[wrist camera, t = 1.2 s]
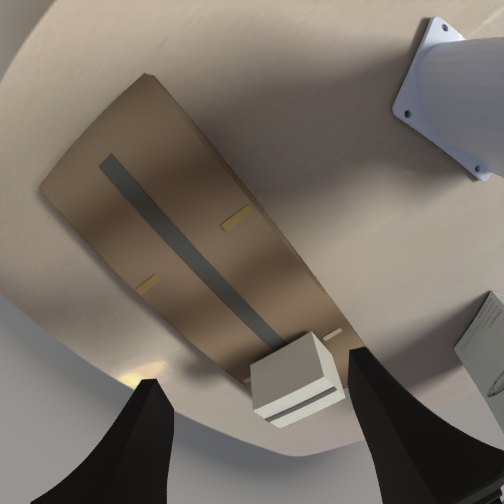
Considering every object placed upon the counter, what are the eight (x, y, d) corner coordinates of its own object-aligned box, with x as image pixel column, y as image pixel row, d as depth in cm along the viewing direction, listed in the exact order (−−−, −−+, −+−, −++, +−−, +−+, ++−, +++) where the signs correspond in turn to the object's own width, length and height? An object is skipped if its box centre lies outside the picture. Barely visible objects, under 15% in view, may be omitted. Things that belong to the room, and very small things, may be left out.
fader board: (370, 353, 25) (378, 370, 23) (283, 399, 27) (286, 417, 25) (154, 75, 15) (143, 73, 13) (54, 178, 17) (37, 187, 15)
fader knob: (331, 354, 22) (345, 398, 18) (274, 385, 23) (279, 429, 19) (311, 331, 20) (324, 377, 17) (250, 365, 22) (252, 411, 18)
